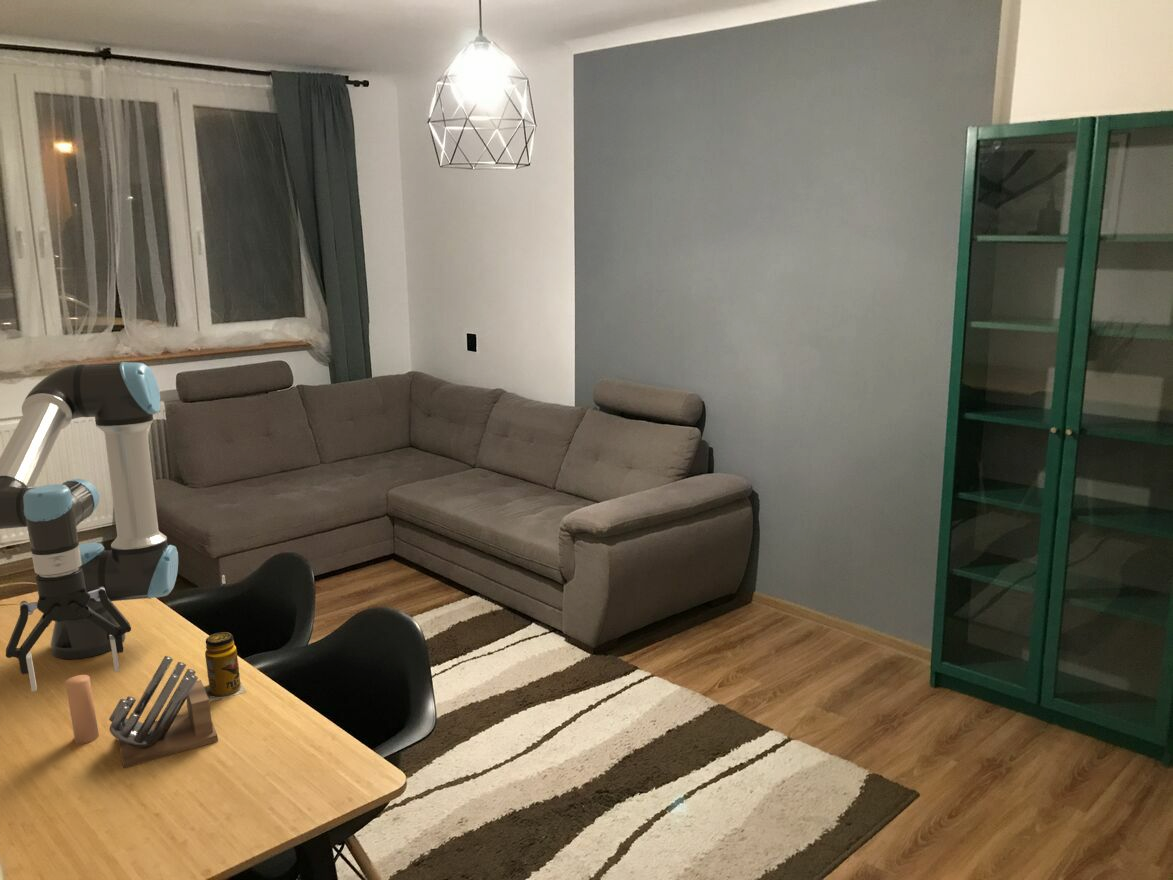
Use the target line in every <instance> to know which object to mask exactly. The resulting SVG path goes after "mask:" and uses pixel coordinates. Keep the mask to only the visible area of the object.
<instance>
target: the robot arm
mask: <svg viewBox="0 0 1173 880" xmlns="http://www.w3.org/2000/svg"><path fill="white" fill-rule="evenodd" d="M160 392H161V391H160V388H159V385H158V381H157V379H156V377H155V374H154V372H153V371H152V370H151V368H150V367H149V366H148V365H146V364H145V363H142V362H130V361H129V362H127V361H126V362H125V361H123V362H110V363H108V362H107V363H95V364H92V363H91V364H72V365H69V366H65V367H62V368H60V369H58V370H57V369H56V370H55V371H54V372H52V373H50V374H48V375H47V376H45V377H44V378H43V379H42V380H41V381H39V382H38V383H37V384H36V385H35V386H34V387H33V388H32V389H31V390H30V391H29V392H28V394H27V395H26V397H25V399H24V401H23V403H22V405H21V413H22V416H21V418H20V420H19V422H18V423H17V425H16V427H15V429H14V431H13V432H12V434H11V437H10V439H9V440H8V442H7V444H6V446H5V448H4V449H3V452H2V453H1V455H0V530H3V529H5V530H6V529H14V528H15V529H17V528H26V527H27V533H28V539H29V544H30V551H31V558H32V563H33V569H34V573H35V574H37V575H36V577H35V582H36V588H37V595H38V598H37V601H33V602H32V601H31V602H28V601H26V600H22V601H21V602H20V603H19V611H20V612H19V616H18V617H17V618H18V619H17V621H16V624H15V626H14V628H13V631H12V633H11V636H10V639H9V642H8V644H7V645H6V648H5V657H6V658H8V659H11V658H16V659H18V664H19V669H20V673H21V674H22V675H26V674H28V677H29V682H30V688H31V692H37V690H38V689H37V687H38V686H37V681H36V674H35V669H34V663H33V657H32V652H31V650H32V648H34V645H35V644H36V643H37V642H38V640H39V639H40V637H41V636H42V635H43V633H44V631H46V629H47V628H48V627H49V626H50V624H51V623H52V622H53V621H54V626H53V630H52V635H51V639H50V648H51V653H52V655H53V656H54V657H56V658H58V659H62V660H63V659H66V660H75V659H76V660H77V659H85V658H90V657H94V656H99V655H102V654H104V653H108V652H110V651H111V655H112V662H113V663H112V664H113V668H114V672H115V673H118V672H121V671H120V663H119V658H118V657H119V656H118V654H121V653H123V652H124V646H123V642H125V639H126V633H130V632H131V631H132V626H131V623H130V622H129V621H128V619H127V618H126V617H125V616H124V615H123V613H122V612H121V611H120V610H119V608H118V607H117V606H116V605H115V604H114V603H113V602H117V601H118V602H119V601H132V600H133V601H134V600H142V599H143V600H145V599H148V600H152V598H160V597H161V598H162V597H167V596H168V595H169V594H170V593H171V592H172V591H173V590H174V587H175V584H176V582H177V576H178V570H179V568H178V567H179V553H178V549H177V547H176V546H175V545H172V544H169V545H168V537H167V535H165V534H164V533H162V532H161V531H160V530H159V522H158V513H157V505H156V495H155V488H154V479H153V478H154V477H153V470H152V461H151V453H150V445H149V435H148V428H149V427H150V426H151V424H152V423H153V422H154V415H155V414H158V413H160V409H161V394H160ZM80 418H94V420H95V426H96V427H97V428H98V429H99V430H101V431H102V432H103V433H104V438H105V445H106V446H105V447H106V448H105V449H106V455H107V462H108V473H109V480H110V487H111V494H112V495H111V496H112V504H113V511H114V520H115V527H116V528H115V529H116V535H117V536H116V538H115V539H114V540H113V541H112V542H111V544H110V548H111V549H110V550H105V546H103V544H102V543H100V542H87V543H83V544H79V543H80V542H79V538H78V530H77V526H78V525H80V524H81V523H82V522H83V521H85V520H86V519H87V518H90V516H92V514H93V513H94V511H95V510H96V509H97V507H98V505H99V503H100V494H99V490H97V487H95V485H94V484H93V483H92V482H90V481H88V480H86V479H80V478H74V479H71V480H67V481H64V482H63V483H62V484H61V483H60V484H59V483H58V484H57V483H56V484H45V485H37V486H35V484H36V483H37V481H38V478H39V476H40V474H41V472H42V470H43V468H44V466H45V464H46V462H47V459H48V458H49V456H50V453H51V451H52V449H53V448H54V445H55V443H56V441H57V438H58V437H59V434H60V433H61V430H63V429H65V428H67V427H68V426H69V425H70V423H71V422H72V420H75V419H80ZM35 610H38V611H39V612H41V613H43V614H42V615H41V617H40V619H39V620H38V622H37V623H36V625H35V626H34V627H33V629H32V630H31V632H30V633H29V635H27V637H26V639H25V640H24V641H23V642H22V644H21V645H20V647H18V645H19V643H20V640H21V637H22V636H23V633H24V630H25V628H26V625H27V622H28V619H29V616H32V615H33V614H34V611H35ZM17 647H18V648H17Z"/></svg>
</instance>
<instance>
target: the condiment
mask: <svg viewBox="0 0 1173 880" xmlns="http://www.w3.org/2000/svg"><path fill="white" fill-rule="evenodd" d="M205 648H206V650H205V653H204V656H205V663H206V671H207V677H208V678H207V680H208V685H203V686H204V689H205V691H206V694H207V696H208V699H209V703H210V702H213V701H218V700H220V699H221V700H222V699H225V698H228V697H234V696H236V695H239V694H244V693H246V692H247V690H246V689H245V687H244V686H243V684H242V682H241V677H240V668H239V661H238V650H237V646H236V645H235V641H234V636H233V634H232V633H230V632H226V631H222V632H221V631H220V632H215V633H212V634H210V635H208V636H207V637H206V639H205Z"/></svg>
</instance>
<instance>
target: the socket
mask: <svg viewBox="0 0 1173 880" xmlns="http://www.w3.org/2000/svg"><path fill="white" fill-rule="evenodd" d="M173 660H174V659H173V658H172V657H171V656H168V655H164V657H163V659H162V660H161V662H160V664H159V666H158V667H157V669H156V671H155V673H154V674H153V676H152V678H151V680H150V681H149V684H148V685H147V686H146V688H145V690H144V692H143V694H142V696H141V697H140V699H139V701H138V703H137V704H136V706H135V707H134V709H133V711H132V712H131V713H130V711H131V709H132V708H133V706H134V705H135V703H136V701H137V699H136V698H134V697H133V696H126V698H125V699H124V698H120V699H119V701H118V702H117V705H116V706H115V708H114V709H113V711H112V713H111V715H110V716H109V719H108V720H109V722H111V723H110V725H109V732H110V734H112V736H113V737H114V738H115V739H117V740H120V741H122V742H123V743H126V744H128V745H131V746H134V747H137V748H145V749H147V748H149V747H150V746H152V745H155V744H156V743H157V741H161V740H163V739H164V737H165V735H166V734H167V732H168V730H169V728H170V727H171V725H172V723H173V721H174V720H175V718H176V716H177V715H179V712H180V710H181V709H182V707H183V705H184V703H185V702H186V701H187V700H186V698H187V697H188V695H189V693H190V691H191V690H192V688H193V686H194V684H195V683H196V681H198V679H199V677H198V676H197V675H195V674H196V673H197V672H196V671H195V670H194V669H192V668H187V669H186V671H185V668H186V667H187V664H186V663H184V662H183V661H177V664H176V665H175V667H174V668H173V670H172V672H171V674H170V676H169V678H168V679H167V681H166V683H165V684H164V686H163V688H162V690H161V691H160V694H159V695H158V697H157V699H156V700H155V702H154V703H153V705H152V708H151V709H150V710H149V712H148V714H147V716H146V717H145V719H144V721H143V722H141V721H139V720H140V718H141V716H142V714H143V712H144V711H145V709H146V708H147V706H148V704H149V703H150V700H151V698H152V697H153V695H154V694H155V692H156V690H157V689H158V686H159V685H160V683H161V681H162V679H163V678H164V676H165V674H166V672H167V671H168V670H169V668H170V666H171V665H172V662H173ZM184 671H185V673H184V675H183V677H182V678H181V680H180V677H181V676H182V674H183V672H184ZM179 680H180V681H179ZM178 682H179V684H178ZM177 684H178V686H177V687H176V685H177ZM175 687H176V689H175V691H174V692H173V690H174V688H175ZM172 692H173V694H172ZM170 695H172V696H171V698H170V699H169V697H170ZM168 699H169V701H168ZM167 701H168V702H167ZM166 703H167V705H166ZM165 705H166V706H165ZM164 706H165V708H164V710H163V712H162V713H161V711H162V709H163V707H164ZM129 713H130V715H129ZM160 713H161V715H160ZM128 715H129V717H128ZM159 715H160V717H159ZM158 717H159V719H158V720H157V718H158ZM155 721H158V722H157V724H156V726H155V727H154V729H152V728H151V727H152V725H153V724H154V722H155Z"/></svg>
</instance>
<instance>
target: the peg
mask: <svg viewBox="0 0 1173 880" xmlns="http://www.w3.org/2000/svg"><path fill="white" fill-rule="evenodd" d="M65 688H66V695H67V701H68V702H67V703H68V706H69V707H68V708H69V712H70V719H71V720H70V721H71V725H72V730H73V731H72V732H73V737H74V741H75V743H76V744H81V745H82V744H87V743H90V742H93V741H95V740H97V739H98V738H99V736H100V734H99V728H98V722H97V721H98V720H97V716H96V715H97V714H96V709H95V702H94V697H93V690H92V684H91V678H90V675H87V674H80V675H79V674H77V675H75V676H72V677H69V678H67V679H66V680H65Z"/></svg>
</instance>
